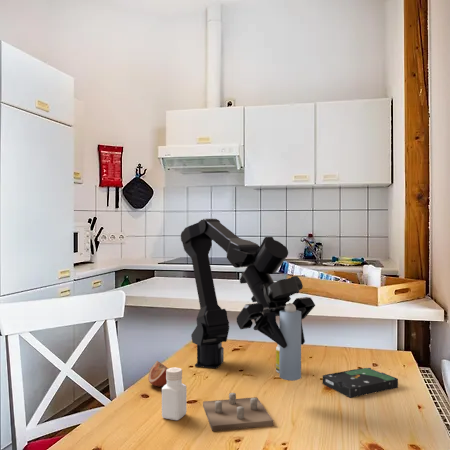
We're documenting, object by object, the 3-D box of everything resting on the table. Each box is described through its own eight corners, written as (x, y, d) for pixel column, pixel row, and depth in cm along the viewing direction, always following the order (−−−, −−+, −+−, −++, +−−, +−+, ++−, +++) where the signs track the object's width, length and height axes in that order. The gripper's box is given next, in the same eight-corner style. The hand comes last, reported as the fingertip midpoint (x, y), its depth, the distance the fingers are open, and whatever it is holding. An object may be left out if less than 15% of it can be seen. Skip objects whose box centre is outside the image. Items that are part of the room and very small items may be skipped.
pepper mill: (277, 379, 97) (277, 304, 96) (281, 372, 101) (281, 300, 101) (299, 381, 95) (299, 305, 95) (302, 374, 100) (302, 302, 99)
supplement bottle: (293, 375, 118) (293, 342, 118) (275, 374, 119) (274, 341, 119) (294, 369, 122) (294, 337, 122) (276, 368, 123) (276, 337, 123)
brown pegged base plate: (202, 406, 98) (202, 392, 98) (257, 401, 100) (257, 388, 100) (212, 431, 86) (212, 415, 86) (273, 425, 89) (273, 410, 89)
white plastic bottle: (187, 414, 94) (187, 368, 94) (177, 422, 90) (177, 374, 90) (170, 411, 96) (170, 365, 96) (160, 418, 92) (160, 371, 92)
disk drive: (350, 401, 102) (399, 389, 109) (350, 388, 102) (399, 377, 109) (321, 386, 112) (367, 376, 118) (321, 375, 111) (367, 365, 118)
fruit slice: (145, 381, 114) (145, 361, 114) (171, 377, 116) (171, 358, 116) (152, 392, 106) (152, 371, 106) (180, 388, 108) (180, 367, 108)
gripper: (244, 266, 96) (277, 329, 87) (309, 262, 106) (345, 318, 97) (223, 298, 103) (252, 360, 94) (287, 291, 113) (319, 346, 104)
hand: (294, 345), depth 97 cm, fingers closed on pepper mill, 5 cm apart
